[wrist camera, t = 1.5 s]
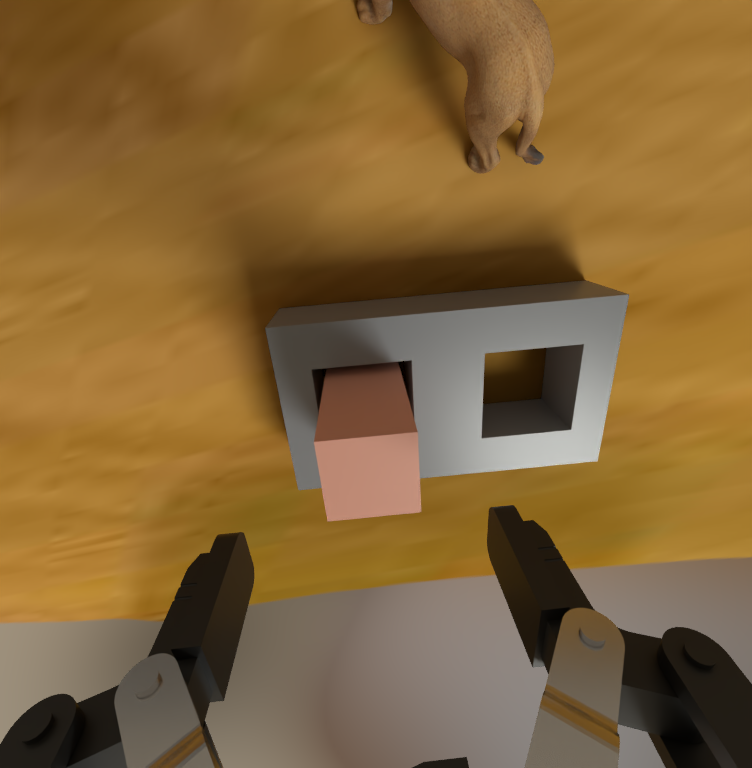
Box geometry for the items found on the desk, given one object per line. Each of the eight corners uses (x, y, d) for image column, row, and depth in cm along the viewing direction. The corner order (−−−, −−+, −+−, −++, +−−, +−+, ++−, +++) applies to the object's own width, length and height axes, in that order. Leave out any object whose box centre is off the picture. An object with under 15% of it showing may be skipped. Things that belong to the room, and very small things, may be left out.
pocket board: (585, 280, 23) (629, 294, 19) (564, 426, 27) (597, 461, 23) (279, 308, 23) (265, 328, 19) (306, 451, 27) (298, 490, 23)
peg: (393, 346, 24) (417, 431, 15) (397, 404, 26) (421, 511, 17) (329, 352, 24) (314, 442, 15) (336, 409, 26) (327, 521, 17)
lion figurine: (265, -31, 17) (180, -254, 9) (339, -174, 15) (321, -617, 7) (501, 204, 21) (594, 204, 13) (578, 112, 19) (739, 45, 11)
